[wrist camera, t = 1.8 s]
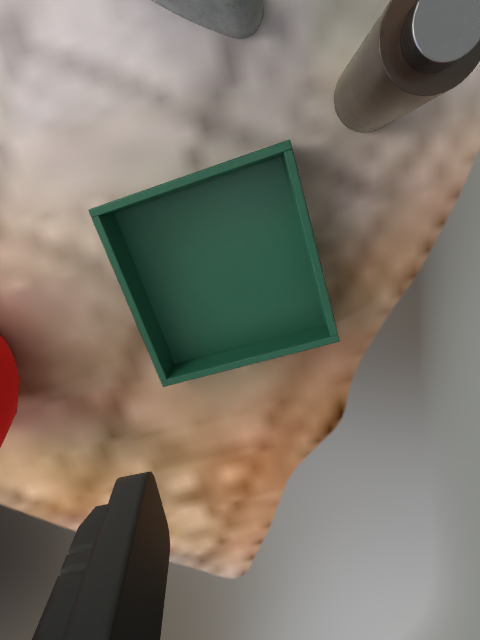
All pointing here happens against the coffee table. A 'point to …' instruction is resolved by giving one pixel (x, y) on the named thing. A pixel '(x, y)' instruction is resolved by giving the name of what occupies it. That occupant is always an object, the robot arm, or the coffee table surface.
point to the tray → (220, 266)
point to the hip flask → (220, 14)
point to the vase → (7, 388)
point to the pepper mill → (408, 60)
